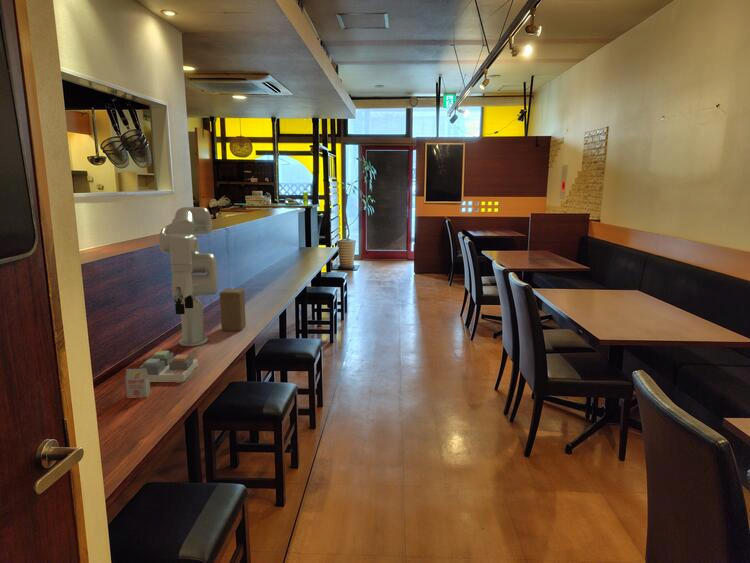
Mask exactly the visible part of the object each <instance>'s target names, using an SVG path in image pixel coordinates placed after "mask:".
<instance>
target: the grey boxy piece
mask: <svg viewBox="0 0 750 563" xmlns="http://www.w3.org/2000/svg"><path fill="white" fill-rule="evenodd" d="M124 372H125V375H124V389H125V390H124V391H125V392H124V393H125V398H126V397H147V396H148V395H149V394H150V393H151V383H150V380H149V375H148V373H147V369H139V368H125V371H124ZM151 394H152V393H151ZM151 394H150V395H151ZM150 395H149V396H150ZM149 396H148V397H149ZM148 397H147V398H148Z"/></svg>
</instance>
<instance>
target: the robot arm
mask: <svg viewBox="0 0 750 563" xmlns="http://www.w3.org/2000/svg"><path fill="white" fill-rule="evenodd" d="M212 229H213V221H212V216H211V213H210V211H209V209H208V208H206V207H203V206H199V207H198V206H193V207H192V206H184V207H180V208H178V209H177V210H176V212H175V215H174V218H173V219H172V222H171V223H169V224H167V225H165V226H164V227H163V228H162V229H161V230H160V231H159V236H158V248H159V250H160V251H161V253H164V254H170V267H171V268H170V269H171V275H172V276H171V293H172V298H173V300H174V301H173V302H174V306H175V314H176V315H180V321H181V323H180V324H181V335H182V338H181V339H179V340H178V343H179V345H180V346H181V347H182V346H183V347H198V346H202V345H205V344H207V343H208V342H209V338H208V337H207V336H205V327H204V326H205V325H204V324H205V323H204V309H203V308H204V307H203V303H202V302H201V300H200V299H199V298H198V296H212V295H216V294H217V292H218V288H219V286H218V268H217V266H218V265H217V259H216V256H215V255H214V254H213V253H209V252H207V253H204V252H203V253H202V252H201V253H200V246H199V242H198V238H197V237H196V236H195V235H208V234H210V233H211V232H212Z"/></svg>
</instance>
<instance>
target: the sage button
mask: <svg viewBox="0 0 750 563" xmlns="http://www.w3.org/2000/svg"><path fill="white" fill-rule="evenodd" d="M169 353H170V351H169V350H157V352H154V354H153V355H154V358H166V357H167V356H168V355H169Z"/></svg>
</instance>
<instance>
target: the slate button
mask: <svg viewBox="0 0 750 563" xmlns="http://www.w3.org/2000/svg"><path fill="white" fill-rule="evenodd" d="M159 363H160V359H150V358H148V359H147V360H146V361H144V362H143V364H144V366H157V365H158V364H159Z"/></svg>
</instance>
